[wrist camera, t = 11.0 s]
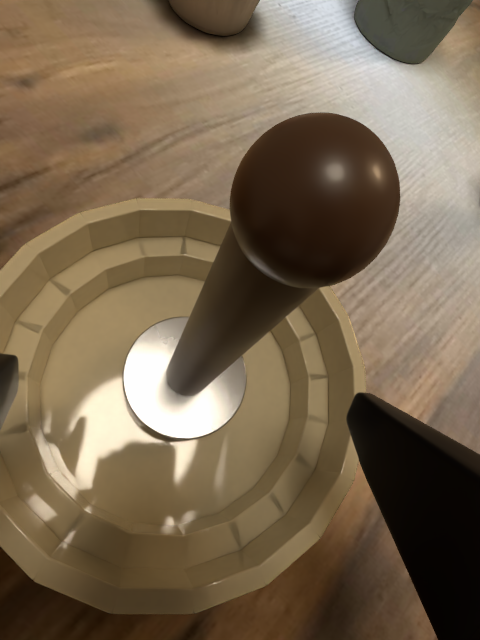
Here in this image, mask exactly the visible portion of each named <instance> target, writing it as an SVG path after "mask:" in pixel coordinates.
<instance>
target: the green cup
mask: <svg viewBox="0 0 480 640" xmlns="http://www.w3.org/2000/svg"><path fill="white" fill-rule="evenodd" d="M472 1H473V0H359V1H358V3H357V6H356V9H355V21H356V23H357V25H358V28H359V29H360V30H361V33H362V34H363V35H364V36H365V37H366V39H368V40H369V41H370V43H372V44H373V45H374V46H376V47H377V48H378V49H379V50H381V51H382V52H384V53H385V54H387V55H389V56H390V57H392V58H394V59H396V60H399V61H402V62H406V63H412V64H415V63H420V62H422V61H424V60H425V59H426V58H428V57H429V55H430V54H431V53H432V52H433V51H434V49H435V48H436V47H437V46H438V45H439V43H440V42H441V41H442V40H443V39H444V37H445V36H446V35H447V34H448V32H449V31H450V30H451V29H452V27H453V26H454V25H455V23H456V21H457V19H458V17H459V16H460V15H461V14H462V13H463V12H464V11H465V9H466V8H467V7H468V6H469V5H470V4H471V2H472Z"/></svg>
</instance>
